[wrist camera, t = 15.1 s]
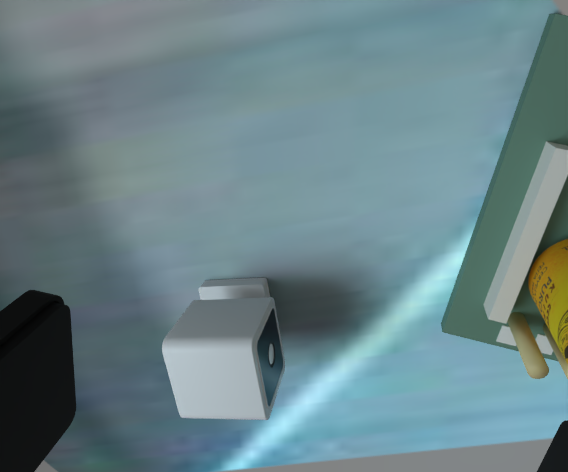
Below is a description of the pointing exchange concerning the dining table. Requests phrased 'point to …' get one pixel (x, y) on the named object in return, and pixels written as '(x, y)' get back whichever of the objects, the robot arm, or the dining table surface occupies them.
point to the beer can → (552, 291)
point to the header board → (520, 217)
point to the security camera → (226, 352)
